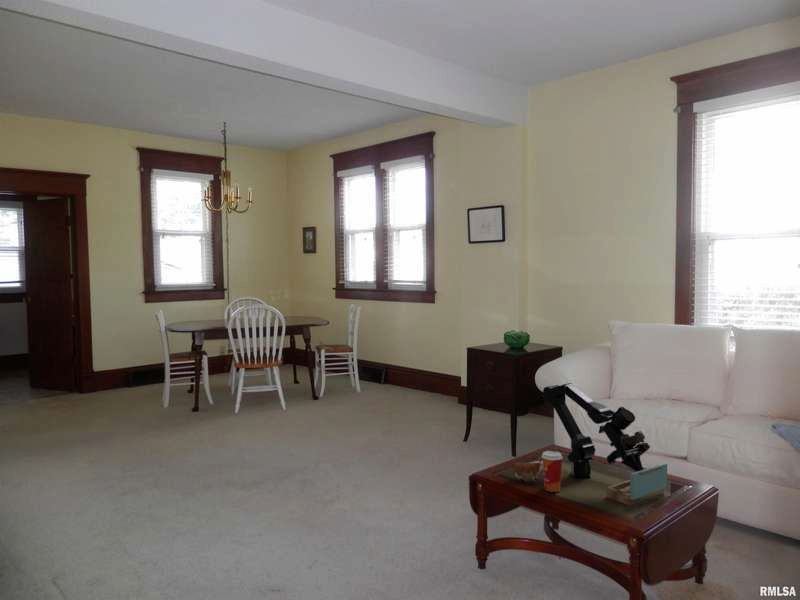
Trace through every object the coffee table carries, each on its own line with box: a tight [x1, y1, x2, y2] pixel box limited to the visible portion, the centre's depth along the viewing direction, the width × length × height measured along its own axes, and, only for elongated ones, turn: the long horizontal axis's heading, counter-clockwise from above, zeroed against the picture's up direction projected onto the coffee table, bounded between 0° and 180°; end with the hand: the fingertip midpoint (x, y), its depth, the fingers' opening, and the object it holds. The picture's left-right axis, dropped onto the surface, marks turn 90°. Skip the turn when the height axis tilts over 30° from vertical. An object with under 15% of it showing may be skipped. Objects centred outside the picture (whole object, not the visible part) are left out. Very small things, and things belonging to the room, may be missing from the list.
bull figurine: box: [512, 460, 543, 480], centre depth 240 cm, size 4×13×8 cm, turn 78°
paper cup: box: [541, 450, 563, 491], centre depth 229 cm, size 8×8×14 cm
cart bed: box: [605, 479, 665, 506], centre depth 223 cm, size 10×20×4 cm, turn 123°
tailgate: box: [629, 462, 668, 500], centre depth 217 cm, size 1×20×9 cm, turn 123°
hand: (642, 473), depth 220 cm, fingers closed
